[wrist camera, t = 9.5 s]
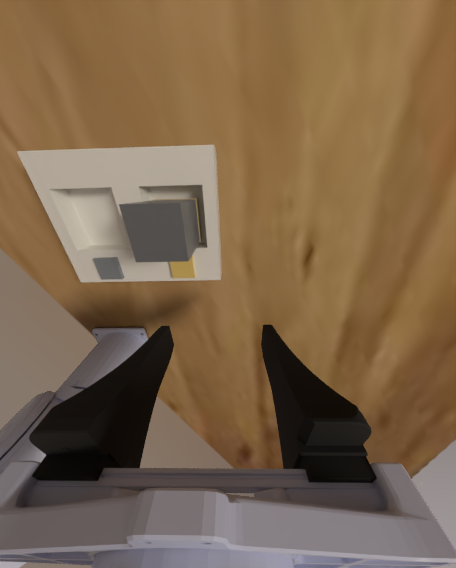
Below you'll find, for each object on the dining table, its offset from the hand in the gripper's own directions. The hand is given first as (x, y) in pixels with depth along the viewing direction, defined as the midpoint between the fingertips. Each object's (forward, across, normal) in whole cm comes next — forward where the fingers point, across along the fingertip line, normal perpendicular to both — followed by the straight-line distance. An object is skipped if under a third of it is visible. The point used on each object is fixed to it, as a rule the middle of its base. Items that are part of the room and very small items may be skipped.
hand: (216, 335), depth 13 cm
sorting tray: (+10, +8, -7) cm, 15 cm away
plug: (+9, +4, -7) cm, 12 cm away
